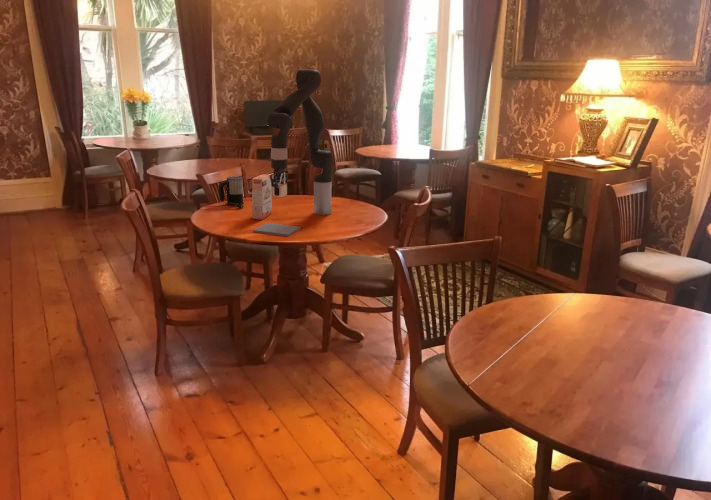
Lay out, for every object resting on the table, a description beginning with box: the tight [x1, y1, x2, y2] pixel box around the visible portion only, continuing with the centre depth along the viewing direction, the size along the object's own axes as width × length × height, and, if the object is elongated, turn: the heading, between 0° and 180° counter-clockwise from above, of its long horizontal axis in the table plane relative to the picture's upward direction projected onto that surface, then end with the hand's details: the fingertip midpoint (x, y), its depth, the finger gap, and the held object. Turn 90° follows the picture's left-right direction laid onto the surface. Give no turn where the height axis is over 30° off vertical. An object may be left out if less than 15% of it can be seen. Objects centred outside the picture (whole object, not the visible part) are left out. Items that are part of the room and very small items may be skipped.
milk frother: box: [218, 176, 245, 209], centre depth 310 cm, size 14×16×15 cm
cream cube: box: [272, 183, 288, 198], centre depth 261 cm, size 5×5×5 cm
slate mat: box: [252, 222, 302, 238], centre depth 267 cm, size 14×18×1 cm
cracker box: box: [251, 173, 273, 221], centre depth 288 cm, size 14×6×21 cm, turn 168°
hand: (279, 194), depth 262 cm, fingers closed on cream cube, 5 cm apart
